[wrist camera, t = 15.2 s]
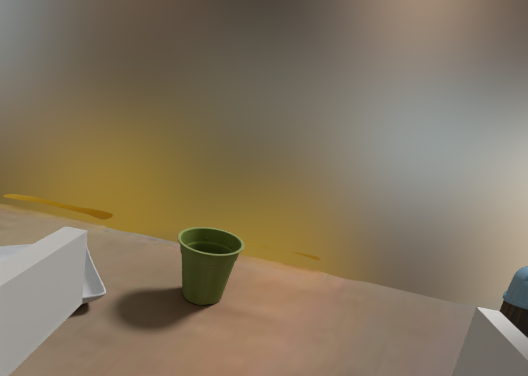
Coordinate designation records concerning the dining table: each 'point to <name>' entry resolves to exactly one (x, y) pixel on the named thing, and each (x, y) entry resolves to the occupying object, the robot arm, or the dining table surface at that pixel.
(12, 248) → the salad plate
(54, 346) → the dining table surface
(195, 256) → the plant pot
